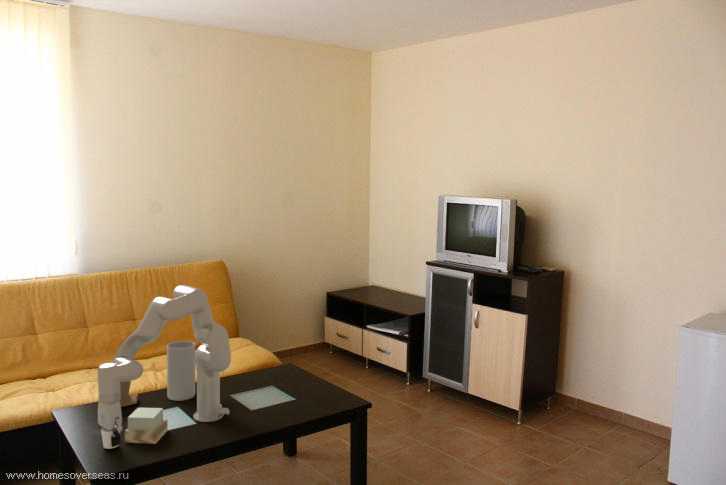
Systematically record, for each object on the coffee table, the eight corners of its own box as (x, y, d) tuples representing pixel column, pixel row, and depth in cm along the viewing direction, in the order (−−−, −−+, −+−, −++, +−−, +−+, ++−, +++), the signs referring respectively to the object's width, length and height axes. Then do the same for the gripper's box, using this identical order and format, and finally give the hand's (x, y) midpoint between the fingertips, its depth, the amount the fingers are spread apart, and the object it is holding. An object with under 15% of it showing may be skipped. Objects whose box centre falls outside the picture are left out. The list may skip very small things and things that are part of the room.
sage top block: (163, 420, 230) (163, 408, 229) (153, 430, 220) (153, 418, 219) (138, 419, 230) (138, 407, 229) (128, 429, 220) (127, 417, 219)
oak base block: (167, 431, 231) (167, 419, 230) (155, 444, 219) (155, 432, 218) (138, 430, 231) (138, 418, 231) (124, 443, 219) (124, 430, 219)
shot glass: (114, 450, 210) (113, 432, 209) (97, 448, 212) (96, 430, 211) (125, 442, 217) (124, 424, 216) (109, 440, 218) (108, 422, 217)
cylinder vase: (191, 390, 277) (191, 339, 275) (198, 398, 266) (198, 346, 264) (164, 394, 270) (164, 343, 268) (170, 403, 260) (170, 349, 257)
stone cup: (105, 413, 246) (104, 380, 245) (101, 404, 256) (100, 372, 255) (142, 407, 254) (141, 374, 253) (137, 398, 264) (136, 367, 263)
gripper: (88, 393, 215) (90, 439, 217) (111, 405, 204) (113, 453, 206) (108, 388, 221) (109, 432, 222) (131, 399, 210) (132, 446, 212)
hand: (111, 442), depth 214 cm, fingers closed on shot glass, 6 cm apart
